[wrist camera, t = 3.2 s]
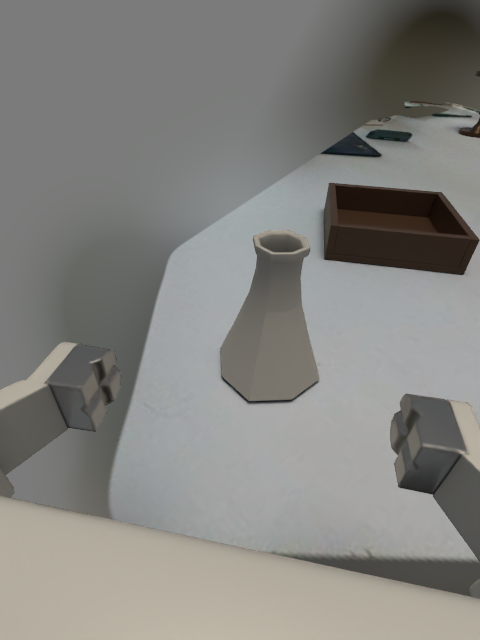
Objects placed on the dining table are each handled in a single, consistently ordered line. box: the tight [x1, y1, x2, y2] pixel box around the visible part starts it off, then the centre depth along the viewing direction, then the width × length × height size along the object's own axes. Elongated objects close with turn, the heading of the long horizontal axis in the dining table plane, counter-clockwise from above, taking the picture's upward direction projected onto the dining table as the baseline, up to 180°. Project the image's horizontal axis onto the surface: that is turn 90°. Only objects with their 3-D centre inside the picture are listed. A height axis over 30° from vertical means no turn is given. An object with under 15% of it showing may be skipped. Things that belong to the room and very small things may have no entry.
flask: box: [221, 231, 319, 401], centre depth 24 cm, size 7×7×10 cm
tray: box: [324, 183, 479, 274], centre depth 44 cm, size 15×15×4 cm
